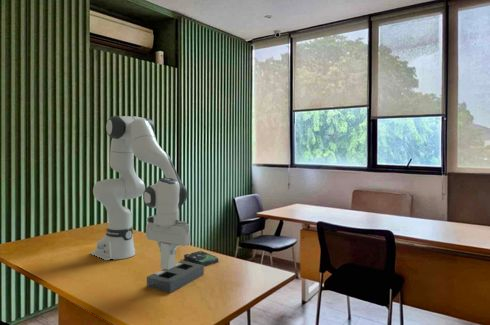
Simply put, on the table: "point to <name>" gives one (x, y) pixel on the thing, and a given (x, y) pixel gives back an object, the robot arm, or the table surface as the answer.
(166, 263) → the plug
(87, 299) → the table surface
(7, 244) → the table surface
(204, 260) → the disk drive
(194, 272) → the panel
